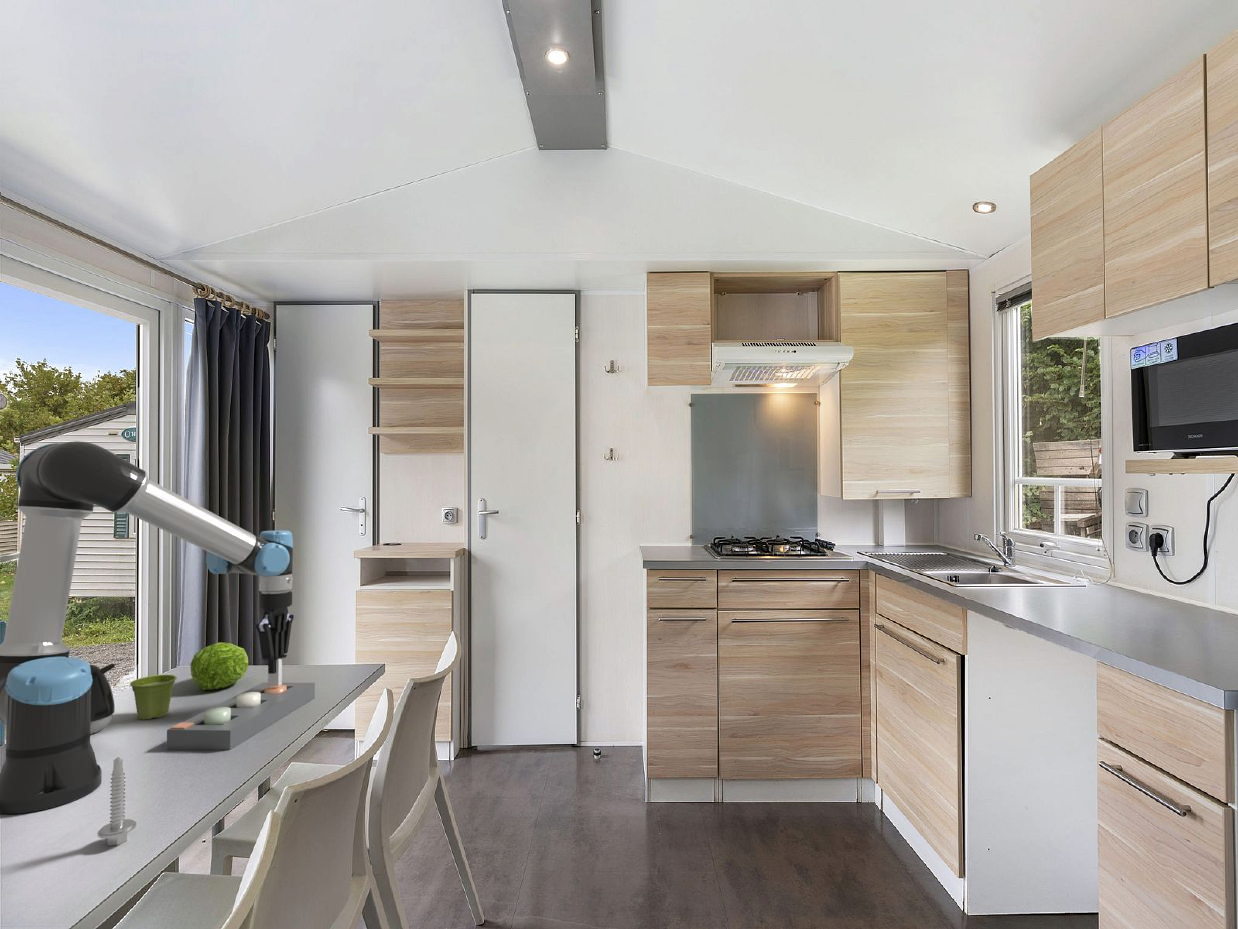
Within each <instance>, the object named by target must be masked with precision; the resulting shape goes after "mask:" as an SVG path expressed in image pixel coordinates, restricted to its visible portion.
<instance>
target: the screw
mask: <svg viewBox="0 0 1238 929" xmlns="http://www.w3.org/2000/svg"><path fill="white" fill-rule="evenodd" d="M123 761H124V759H123V758H121V757H119V756H118V757H116V758H115V759H113V764H112V765H113V768H112V769H113V770H112V774H111V776H112V777H111V778H110V780H111V782H110V784H111V786H109V787H110V788H111V789H110V790H109V791H110V792H111V793H110V796H111V797H110V798H109V799H110V800H111V801H109V802H110V804H111V805H110V806H109V807H110V810H109V811H111V812H110V813H109V815H111V816H110V817H109V819H111V820H110V821H109V823H107V824H105V825H104V826H102V827H101V828H100V829H99V830H98V831H97V838H100V839H106V843H107V845H106V846H107V847H112V846H113V847H116V846H119V845H121V844H123V843H126V842H127V841H128V834H129V833H130V832H131V831H133V830H135V829H136V828H137V822H136V820H133V819H131V818H128V819H125V817H126V815H125V814H126V811H125V809H126V807H125V806H126V803H125V802H126V800H125V798H126V796H125V794H126V792H125V791H126V788H125V787H126V784H125V783H126V780H125V779H126V773H125V772H124V764H123V763H124V762H123Z"/></svg>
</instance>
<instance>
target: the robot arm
mask: <svg viewBox="0 0 1238 929" xmlns="http://www.w3.org/2000/svg"><path fill="white" fill-rule="evenodd" d="M15 477H16V481H17V482H16V483H17V484H18V487H19V489H20V491H19V497H18V503H17V509H18V510H19V511H20V512H21V513H22V514H23V515H24V516H25V522H24V526H23V527H24V528H23V532H22V538H21V543H20V548H19V549H20V550H19V555H18V560H17V565H16V566H17V567H16V571H15V572H16V573H15V577H14V583H13V587H12V588H13V589H12V593H11V594H12V595H11V598H10V605H9V609H8V617H7V622H6V627H5V632H4V633H5V634H4V638H3V642H1V644H0V723H3V724H5V759H4V762H3V765H2V768H1V771H0V814H3V815H14V814H27V813H32V812H38V811H41V810H42V811H43V810H47V809H52V808H55V807H59V806H61V805H62V806H63V805H65V804H67V803H71V802H73V801H76V800H78V799H81V798H83V797H85V796H88V794H91V793H93V791H95V790H97V789H98V788H99V787H100V785H101V784H102V781H103V780H102V777H103V776H102V773H103V772H102V768H101V766H100V765H99V764H98V763H97V759H96V758H97V757H96V754H95V751H94V749H93V747H92V744H91V734H90V720H91V685H92V675H91V668H90V665H91V664H90V663H88V661H86V660H85V659H82V658H79V657H75V656H73V657H72V656H71V657H70V650H71V649H70V648H71V647H69V646H68V645H67V644H66V643H65V642H64V641H63V634H64V630H65V623H66V618H67V611H68V606H69V598H70V592H71V587H72V582H73V581H72V580H73V577H74V576H73V575H74V570H75V569H74V568H75V563H76V557H77V551H78V545H79V539H80V534H81V533H80V532H81V527H82V522H83V520H84V519H85V518H86V517H88V516H90V515H92V514H93V512H94V505H95V506H98V507H101V508H102V509H105V510H107V511H109V512H111V513H113V514H114V513H120V512H124V513H126V514H129V515H131V516H133V517H135V518H137V519H138V520H141V521H143V522H145V523H148V524H149V525H152V526H154V527H156V528H158V529H160V530H162V531H164V532H166V533H169V534H171V535H173V536H174V537H177V538H179V539H181V540H183V541H185V542H187V543H189V544H191V545H194V546H196V547H198V548H199V549H202V550H203V551H204V550H205V551H206V556H205V562H206V566H207V569H208V570H209V572H210V573H211V574H213V575H219V574H220V575H222V574H224V575H227V574H234V573H235V574H245V575H253V576H258V578H259V580H258V585H259V586H258V591H259V592H260V593H259V594H258V607H259V609H262V610H263V615H262V620H261V622H260V623H259V622H257V623H256V625H255V627H256V630H257V632H258V637H259V638H258V640H259V646H260V653H261V659H262V660H264V661H267V668H268V669H267V672H268V674H267V677H268V678H267V683H268V686H280V685H282V683H283V682H282V681H283V659H285V658H287V656H288V655H287V654H288V652H289V646H290V640H291V630H292V624H293V621H294V618H295V616H294V614H289V609H288V607H291V606H292V605H293V592H292V589H293V581H294V579H293V562H294V561H293V560H294V559H293V558H294V557H293V556H294V554H293V553H294V539H293V534H292V532H291V531H290V530H281V529H280V530H278V529H277V530H265V531H264V530H263V531H261V532H260V534H259V536H258V535H257V536H256V535H254V533H251V532H250V531H247V530H246V529H244V528H242V527H241V526H238V525H236V524H234V523H232V522H231V521H229V520H226V519H225V518H223V517H221V516H219V515H217V514H216V513H214V512H212V511H210V510H208V509H206V508H204V507H202V506H200V505H198V504H196V503H195V502H193V501H191V500H189V499H187V498H185V497H183V496H182V495H180V494H178V493H176V492H174V491H172V490H170V489H168V488H166V487H165V486H162V485H161V484H159V483H158V482H155V481H153V480H151V479H149V476H148V472H147V471H146V470H144V469H141V467H138V466H137V465H134V464H133V463H131V462H129V461H127V460H126V459H124V458H122V457H121V456H119V455H117V454H115V453H113V452H112V451H110V450H108V449H107V448H105V447H102V446H100V445H97V444H95V443H91V442H86V441H79V440H78V441H75V440H74V441H68V442H60V443H57V442H54V443H48V444H44V445H42V446H38V447H37V448H35V449H33V450H32V451H30V452H28V453H27V454H26V455H25V456H24V457H23V458H22V459H21V460H20V461H19V464H18V465H17V467H16V474H15Z"/></svg>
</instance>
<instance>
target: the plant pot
mask: <svg viewBox="0 0 1238 929" xmlns="http://www.w3.org/2000/svg"><path fill="white" fill-rule="evenodd" d="M177 678H178V676H177V675H175V674H166V673H165V674H156V675H148V676H144V677H143V676H142V677H140V678H137V679H134V680H132V681H131V682H130V683H129V685H130V687H131V689H132V692H133V695H134V700H135V708H136V714H137V718H138V719H139V720H145V719H148V720H151V719H153V718H155V719H156V718H157V719H158V718H159V719H160V718H162V717H165V716H166V715H168V714H169V709H170V703H171V699H172V698H171V697H172V692H173V688H174V685H175V682H176V680H177Z"/></svg>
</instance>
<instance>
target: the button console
mask: <svg viewBox="0 0 1238 929" xmlns="http://www.w3.org/2000/svg"><path fill="white" fill-rule="evenodd" d="M282 685H286V686H287V690H286V691H284V692H282V693H264V689H265V688H266V687H269V686H268V682H261V683H259V684H257V685H255V686H253V687H251V688H250V689H247V690H245V691H243V692H241V693H239V694H237V695H235V696H233V697H231V698H229V699H227V700H225V701H223V702H221V703H218V704H216V705H215V706H213V707H210V708H208V709H206V710H204V711H203V712H200V713H199V714H196V715H194V716H192V717H191V718H188V719H186V720H184V721H181V722H179V723H177V724H175V725H173V726H172V727H171V726H170V728H167V730H166V750H217V751H218V750H224V751H225V750H229V751H230V750H232V749H234V748H236V747H238V746H239V745H240V744H242V743H244V742H245V741H247V740H248V739H250V738H252V737H254V736H255V735H257V734H258V733H260V732H262V731H263V730H265V729H267V728H268V727H271V725H274V724H275V723H277V722H278V721H280V720H281V719H283V718H285V717H287V716H288V715H289V714H291V713H293V712H295V711H296V710H297V709H300V708H301V707H303V706H304V705H307V704H308V703H309V702H311V701H312V700H315V696H316V693H315V692H316V690H315V689H316V683H315V682H282ZM249 692H259V693H261V704H260V705H258V706H256V707H254V708H236V697H237V696H238V695H240V694H244V693H249ZM220 707H229V708H231V720H230V721H228V722H227V723H225V724H223V725H204V713H205V712H206V711H208V710H210V709H214V708H220Z"/></svg>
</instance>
